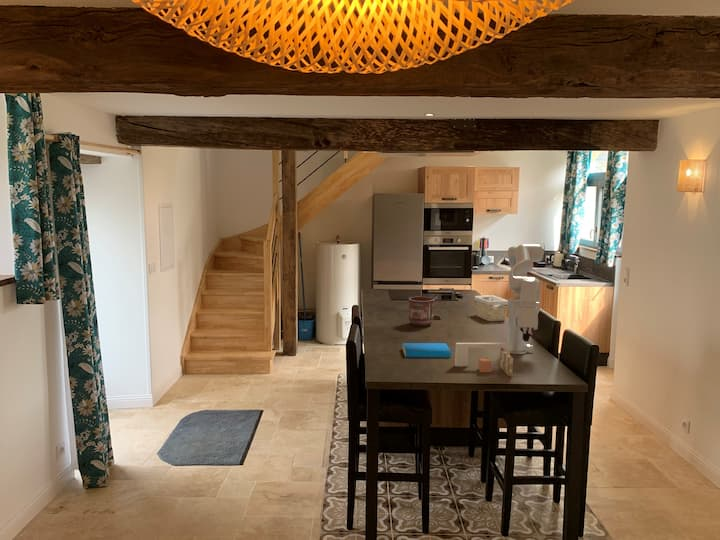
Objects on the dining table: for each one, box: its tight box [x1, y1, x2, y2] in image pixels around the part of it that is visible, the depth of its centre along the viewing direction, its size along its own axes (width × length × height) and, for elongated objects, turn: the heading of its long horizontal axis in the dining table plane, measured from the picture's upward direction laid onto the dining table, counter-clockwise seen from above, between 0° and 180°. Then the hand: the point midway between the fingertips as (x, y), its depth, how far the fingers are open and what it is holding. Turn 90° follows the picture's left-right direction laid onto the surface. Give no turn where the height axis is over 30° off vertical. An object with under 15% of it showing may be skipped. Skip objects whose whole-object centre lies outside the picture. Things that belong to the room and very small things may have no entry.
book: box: [402, 342, 452, 358], centre depth 323 cm, size 17×4×25 cm
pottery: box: [408, 296, 436, 328], centre depth 391 cm, size 18×18×18 cm
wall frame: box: [454, 342, 511, 367], centre depth 300 cm, size 28×2×12 cm, turn 92°
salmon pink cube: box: [477, 357, 492, 373], centre depth 292 cm, size 5×6×6 cm
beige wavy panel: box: [499, 348, 514, 377], centre depth 291 cm, size 18×2×10 cm, turn 2°
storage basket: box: [473, 294, 509, 322], centre depth 415 cm, size 24×16×15 cm
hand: (525, 340), depth 286 cm, fingers closed
